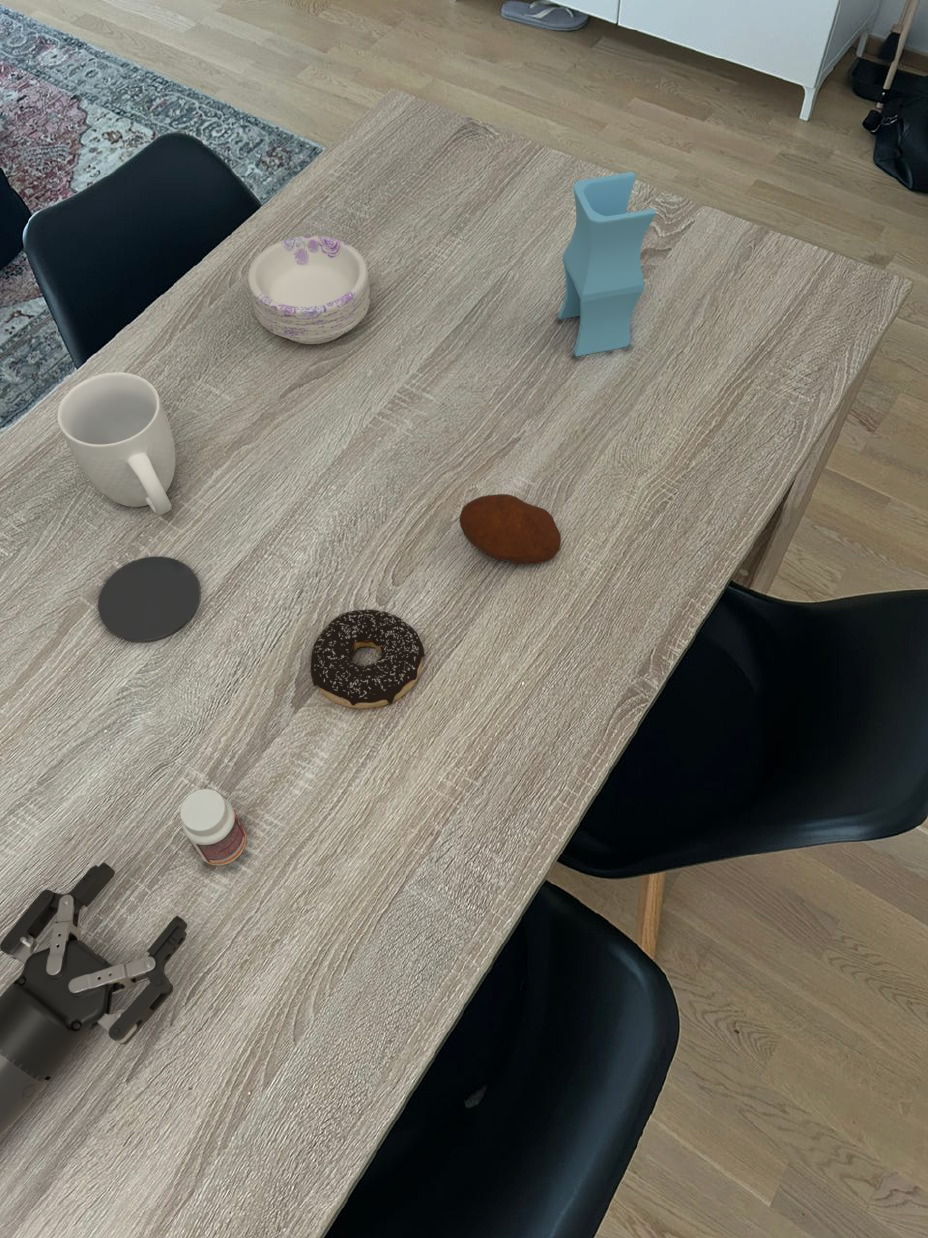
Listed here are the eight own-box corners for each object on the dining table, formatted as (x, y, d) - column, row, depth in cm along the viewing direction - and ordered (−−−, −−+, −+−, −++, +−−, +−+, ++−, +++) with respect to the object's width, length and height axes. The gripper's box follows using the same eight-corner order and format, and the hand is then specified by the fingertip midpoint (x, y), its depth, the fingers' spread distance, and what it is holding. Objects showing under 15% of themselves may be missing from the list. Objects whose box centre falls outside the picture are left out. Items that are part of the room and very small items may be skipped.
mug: (219, 516, 120) (193, 439, 109) (132, 560, 117) (96, 486, 106) (162, 436, 127) (133, 356, 116) (78, 476, 124) (39, 398, 113)
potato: (553, 585, 115) (558, 542, 108) (451, 568, 116) (450, 525, 109) (563, 531, 119) (569, 486, 112) (465, 515, 120) (464, 470, 113)
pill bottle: (256, 832, 100) (240, 798, 93) (228, 875, 98) (209, 844, 91) (215, 810, 101) (196, 775, 94) (186, 852, 99) (164, 820, 92)
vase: (633, 345, 135) (657, 212, 118) (575, 356, 134) (590, 223, 117) (614, 305, 139) (634, 170, 122) (557, 315, 138) (569, 181, 121)
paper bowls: (352, 269, 143) (346, 220, 136) (387, 343, 135) (383, 294, 128) (244, 297, 140) (233, 247, 133) (274, 373, 132) (263, 325, 126)
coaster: (88, 640, 112) (86, 637, 111) (112, 556, 117) (111, 554, 117) (189, 645, 111) (188, 642, 111) (209, 561, 117) (208, 558, 116)
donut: (314, 625, 112) (309, 604, 109) (423, 619, 113) (422, 599, 109) (312, 716, 106) (307, 698, 103) (427, 710, 107) (426, 692, 103)
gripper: (-34, 1017, 89) (99, 863, 96) (86, 1118, 85) (217, 950, 92) (-73, 998, 83) (73, 835, 90) (55, 1107, 79) (198, 926, 86)
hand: (146, 893), depth 91 cm, fingers open, 8 cm apart
